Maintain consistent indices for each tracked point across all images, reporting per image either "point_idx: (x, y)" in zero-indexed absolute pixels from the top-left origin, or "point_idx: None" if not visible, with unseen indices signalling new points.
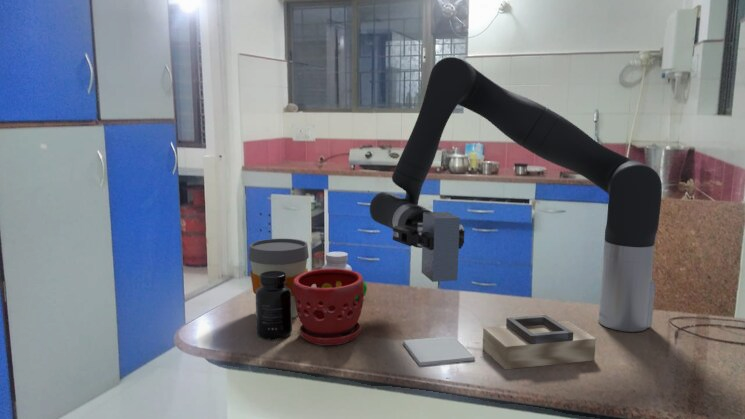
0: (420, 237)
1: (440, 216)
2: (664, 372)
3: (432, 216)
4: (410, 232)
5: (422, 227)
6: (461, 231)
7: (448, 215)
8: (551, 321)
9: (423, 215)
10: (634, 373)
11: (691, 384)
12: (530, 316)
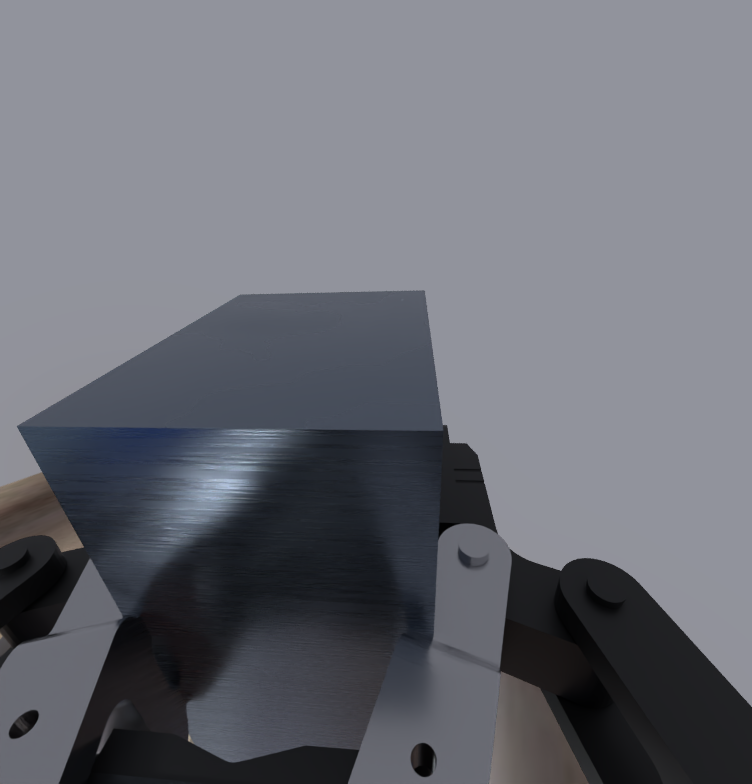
0: (491, 515)
1: (347, 309)
2: (20, 534)
3: (414, 311)
4: (599, 563)
5: (429, 649)
6: (53, 544)
7: (251, 321)
8: (1, 653)
9: (440, 463)
10: (65, 543)
11: (52, 498)
12: None
